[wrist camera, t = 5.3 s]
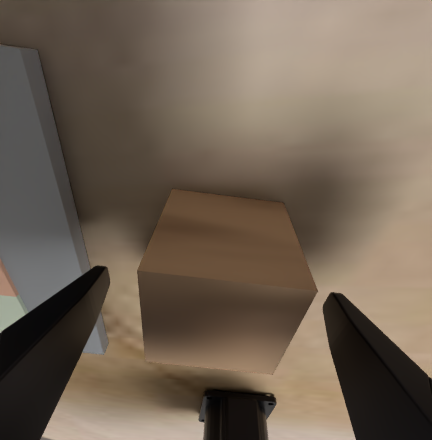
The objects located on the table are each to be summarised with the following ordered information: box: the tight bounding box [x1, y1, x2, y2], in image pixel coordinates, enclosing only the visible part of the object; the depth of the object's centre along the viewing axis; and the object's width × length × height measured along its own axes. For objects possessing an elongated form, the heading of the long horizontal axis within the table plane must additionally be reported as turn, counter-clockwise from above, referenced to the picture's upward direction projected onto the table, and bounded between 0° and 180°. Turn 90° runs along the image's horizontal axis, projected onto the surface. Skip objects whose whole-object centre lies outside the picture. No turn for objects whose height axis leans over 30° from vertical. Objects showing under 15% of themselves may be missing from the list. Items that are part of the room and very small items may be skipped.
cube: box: [137, 189, 318, 375], centre depth 10 cm, size 5×5×5 cm
